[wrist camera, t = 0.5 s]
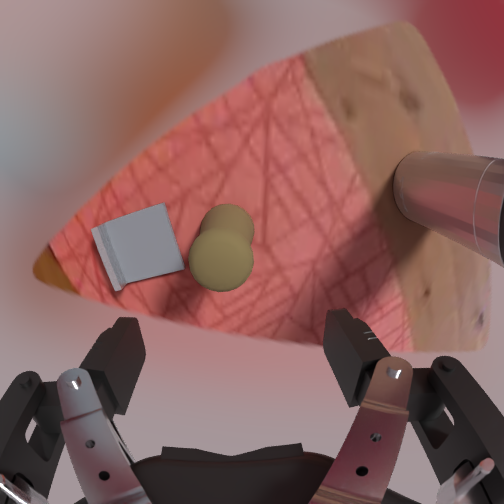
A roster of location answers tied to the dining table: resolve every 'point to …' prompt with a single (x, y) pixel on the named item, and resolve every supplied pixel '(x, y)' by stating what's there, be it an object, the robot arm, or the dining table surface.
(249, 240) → the cork
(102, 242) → the rail
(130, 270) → the slate shelf board
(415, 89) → the dining table surface
